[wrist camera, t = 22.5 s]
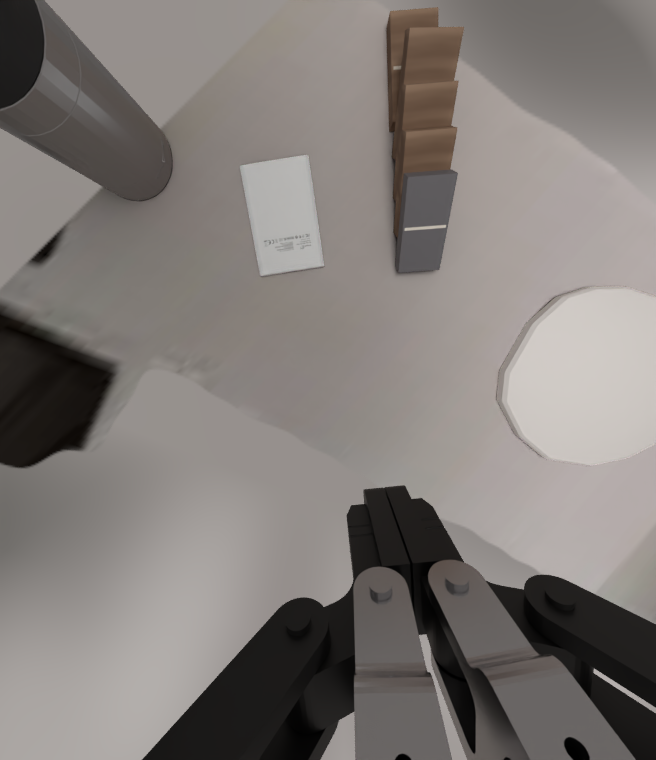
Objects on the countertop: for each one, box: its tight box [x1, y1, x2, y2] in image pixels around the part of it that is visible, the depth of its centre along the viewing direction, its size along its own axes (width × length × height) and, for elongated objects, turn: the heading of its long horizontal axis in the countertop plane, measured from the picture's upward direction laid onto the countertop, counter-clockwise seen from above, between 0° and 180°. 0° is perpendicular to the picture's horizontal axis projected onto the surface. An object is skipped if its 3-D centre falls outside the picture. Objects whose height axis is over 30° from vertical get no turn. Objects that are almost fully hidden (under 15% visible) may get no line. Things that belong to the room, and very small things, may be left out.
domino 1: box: [387, 7, 438, 132], centre depth 35 cm, size 2×5×10 cm
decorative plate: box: [496, 286, 656, 466], centre depth 42 cm, size 25×4×25 cm
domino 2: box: [392, 27, 464, 160], centre depth 33 cm, size 2×5×10 cm
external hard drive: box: [240, 155, 324, 277], centre depth 38 cm, size 2×8×12 cm
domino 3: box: [393, 81, 458, 201], centre depth 34 cm, size 2×5×10 cm
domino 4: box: [394, 126, 457, 238], centre depth 35 cm, size 2×5×10 cm
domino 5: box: [395, 169, 458, 273], centre depth 36 cm, size 2×5×10 cm
